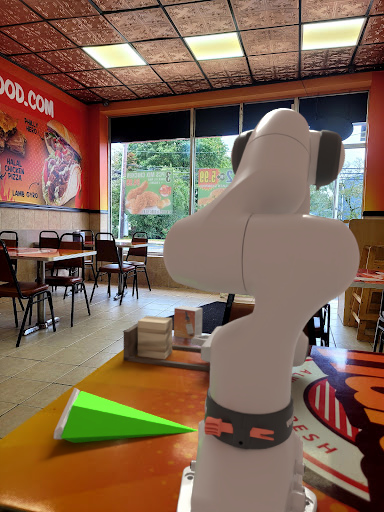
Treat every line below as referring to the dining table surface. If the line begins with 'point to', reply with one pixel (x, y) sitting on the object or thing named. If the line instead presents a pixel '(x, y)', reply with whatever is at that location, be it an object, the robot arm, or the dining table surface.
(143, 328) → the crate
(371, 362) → the dining table surface
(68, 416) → the paper cone
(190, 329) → the small box
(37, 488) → the dining table surface
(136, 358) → the bay
